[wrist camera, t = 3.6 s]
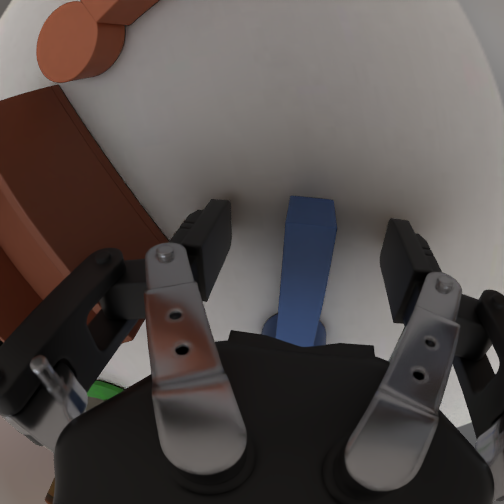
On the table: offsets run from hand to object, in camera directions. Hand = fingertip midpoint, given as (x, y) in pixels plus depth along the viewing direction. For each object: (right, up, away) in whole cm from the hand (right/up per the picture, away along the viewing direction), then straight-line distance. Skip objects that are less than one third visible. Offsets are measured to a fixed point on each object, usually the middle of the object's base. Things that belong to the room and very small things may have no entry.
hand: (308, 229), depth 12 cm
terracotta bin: (-15, 0, +4) cm, 15 cm away
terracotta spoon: (-7, +10, -4) cm, 12 cm away
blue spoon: (0, -3, +3) cm, 4 cm away
